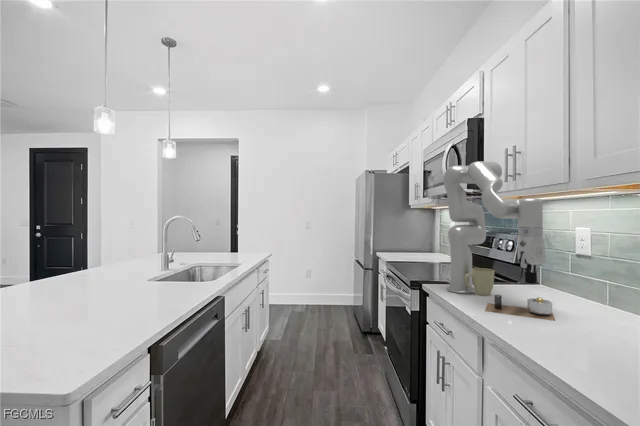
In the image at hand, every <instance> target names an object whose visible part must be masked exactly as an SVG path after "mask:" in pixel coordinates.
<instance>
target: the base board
mask: <svg viewBox="0 0 640 426" xmlns="http://www.w3.org/2000/svg"><path fill="white" fill-rule="evenodd" d="M484 312H487V313H495V314H502V315H503V314H504V315H510V316H517V317H524V318H525V317H526V318H532V319H540V320H547V321H554V322H555V321H556V318H555V316H554V312H553V311H552V313H550V314H549V316H538V315H534V314H531V313H530V311H529V310H528V309H527V307H523V306H514V305H507V304H502V309H495V308H494V303H491V302H487V304H486V306H485V309H484Z"/></svg>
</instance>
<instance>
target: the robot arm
mask: <svg viewBox="0 0 640 426" xmlns="http://www.w3.org/2000/svg"><path fill="white" fill-rule="evenodd" d="M502 174H503V168H502V166H501V165H500V164H499V163H497V162H496V161H485V160H484V161H483V160H481V161H479V160H477V161H474V162H471V163H470V164H469V165H453V166H449V167H448V168H447V169H446V170H445V172H444V175H443V186H444V190H445V191H446V196H447V206H448V214H449V219H450V220H451V221H452V222H453V223H454V222H455V223H468V224H456V225H453V226H451V227H450V228H449V229H448V233H447V235H448V243H449V250H450V253H449V254H450V279H449V280H448V281H447V284H449V286H447V291H449V292H451V293H455V294H461V295H462V294H463V295H464V294H469V295H470V294H476V291H474V290H475V288H474V287H473V277H472V276H471V275H468V276H467V282H468V284H469V285H470V286H471V287H472V288H473V289H474V290H473V289H471V288H470V287H469V286H468V285H467V284H466V282H465V276H466V274H468V273H470V274H472V269H473V254H472V250H471V248H470V247H469V245H470V246H471V245H472V246H473V245H481V244H483V243H484V242H485V241H486V239H487V228H486V227H487V226H486V221H485V220H486V219H485V213H484V212H485V211H484V210H483V208H482V206H481V205H480V204H479V203H476V202H468V200H467V193H466V191H465V189H464V188H463V187H462V186H461V185H460V184H467V185H469V184H472V185H473V184H475V185H476V186H477V187H478V189H480V191H481V192H482V193H481V203H482V205H483V207H484V208H485V209H486V210H487V212H488V213H489V214H490V215H492V216H493V217H494V218H497V219H507V220H508V219H515V220H517V228H518V229H517V230H518V231H517V234H518V235H517V236H518V241H517V262H518V263H519V264H520V268H523V270H524V271H523V272H524V282H525V283H526V284H533V285H534V284H538V275H537V274H538V269H539V267H540V266H541V264H543V265H544V264H545V263H546V247H545V240H544V228H543V222H544V221H543V200H542V199H540V198H522V199H519V198H517V199H516V198H515V199H514V198H500V197H499V196H498V195H497V194H496V193H498V192H499V191H500V190H501V189H502V187H503V180H502V178H501V176H502Z"/></svg>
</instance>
